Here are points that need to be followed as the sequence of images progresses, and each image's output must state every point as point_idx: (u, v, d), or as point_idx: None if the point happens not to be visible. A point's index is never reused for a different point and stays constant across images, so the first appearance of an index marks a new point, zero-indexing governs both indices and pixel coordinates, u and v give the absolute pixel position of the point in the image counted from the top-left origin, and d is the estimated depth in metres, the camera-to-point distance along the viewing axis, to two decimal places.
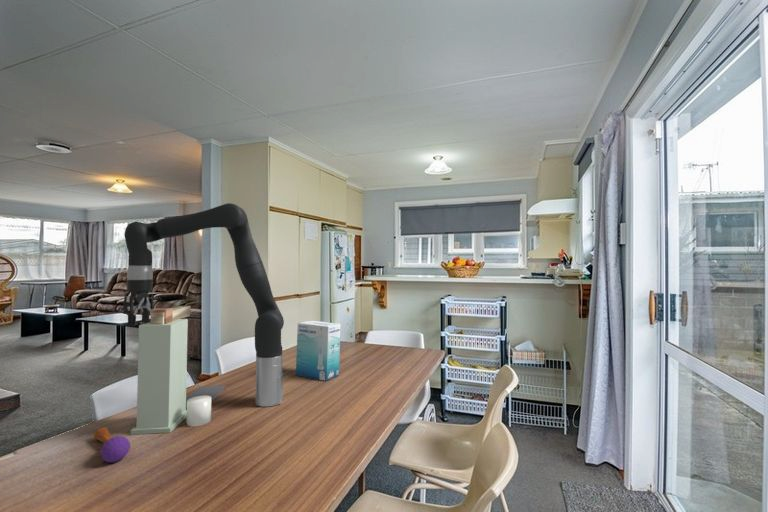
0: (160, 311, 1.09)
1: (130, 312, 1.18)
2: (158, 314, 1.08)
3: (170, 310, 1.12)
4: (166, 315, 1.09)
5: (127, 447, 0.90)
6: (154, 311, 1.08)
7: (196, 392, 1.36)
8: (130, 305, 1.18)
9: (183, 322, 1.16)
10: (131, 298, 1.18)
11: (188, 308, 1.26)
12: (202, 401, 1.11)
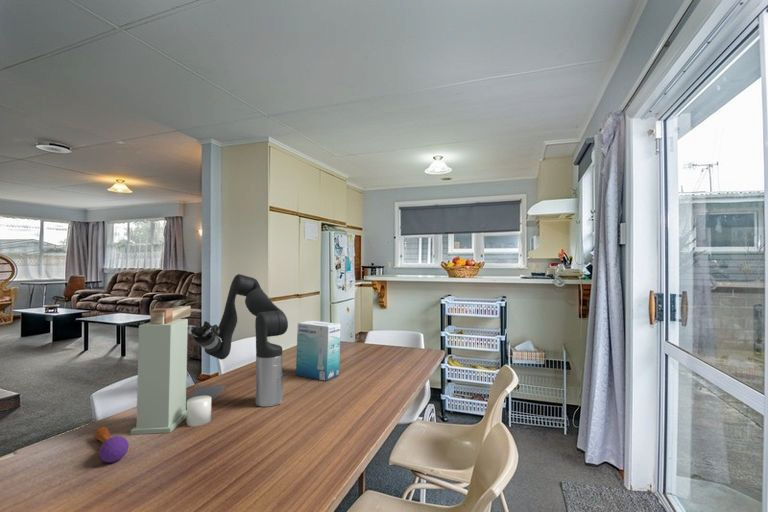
0: (160, 311, 1.09)
1: None
2: (158, 314, 1.08)
3: (170, 310, 1.12)
4: (166, 315, 1.09)
5: (125, 448, 0.90)
6: (154, 311, 1.08)
7: (196, 392, 1.36)
8: None
9: (183, 322, 1.16)
10: None
11: (188, 308, 1.26)
12: (202, 401, 1.11)
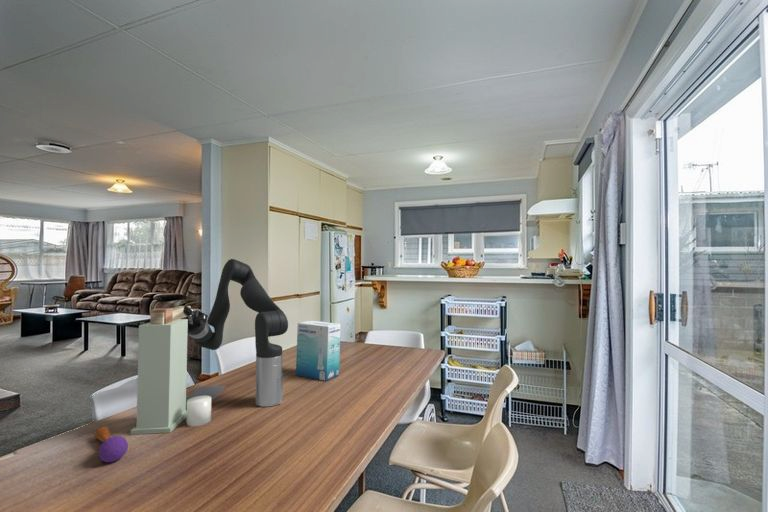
0: (160, 311, 1.09)
1: None
2: (158, 314, 1.08)
3: (170, 310, 1.12)
4: (166, 315, 1.09)
5: (124, 447, 0.90)
6: (154, 311, 1.08)
7: (196, 392, 1.36)
8: None
9: (183, 322, 1.16)
10: None
11: None
12: (202, 401, 1.11)
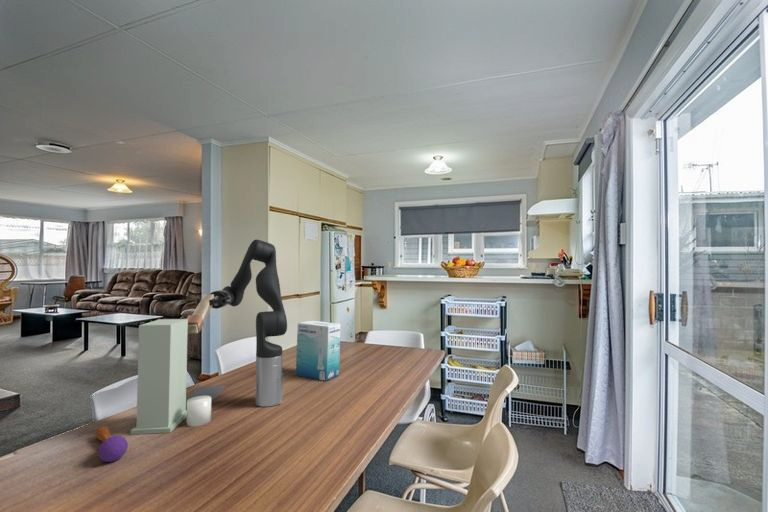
0: (193, 323, 1.26)
1: None
2: (192, 326, 1.25)
3: (200, 318, 1.29)
4: (198, 325, 1.27)
5: (124, 447, 0.91)
6: None
7: (196, 392, 1.36)
8: None
9: (183, 322, 1.16)
10: (197, 298, 1.46)
11: (212, 298, 1.42)
12: (202, 401, 1.11)
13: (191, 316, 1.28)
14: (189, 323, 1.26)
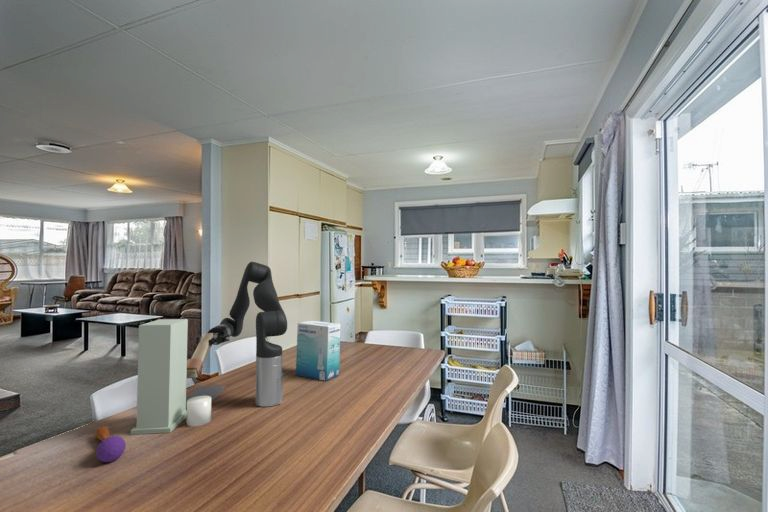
0: (192, 368, 1.25)
1: None
2: (191, 372, 1.25)
3: (199, 362, 1.28)
4: (198, 370, 1.27)
5: (121, 447, 0.90)
6: (187, 368, 1.25)
7: (196, 392, 1.36)
8: (196, 337, 1.44)
9: (183, 322, 1.16)
10: (196, 335, 1.46)
11: (211, 337, 1.41)
12: (202, 401, 1.11)
13: (190, 360, 1.28)
14: (188, 368, 1.25)
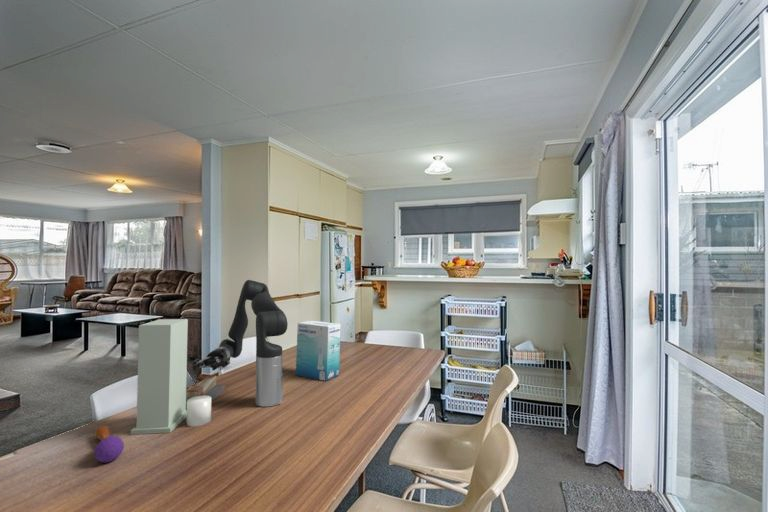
0: (194, 391, 1.27)
1: None
2: (192, 394, 1.26)
3: (201, 388, 1.30)
4: (199, 394, 1.28)
5: (119, 448, 0.90)
6: (188, 391, 1.27)
7: None
8: None
9: (183, 322, 1.16)
10: (196, 359, 1.46)
11: (214, 378, 1.44)
12: (202, 401, 1.11)
13: (193, 386, 1.30)
14: (190, 391, 1.27)
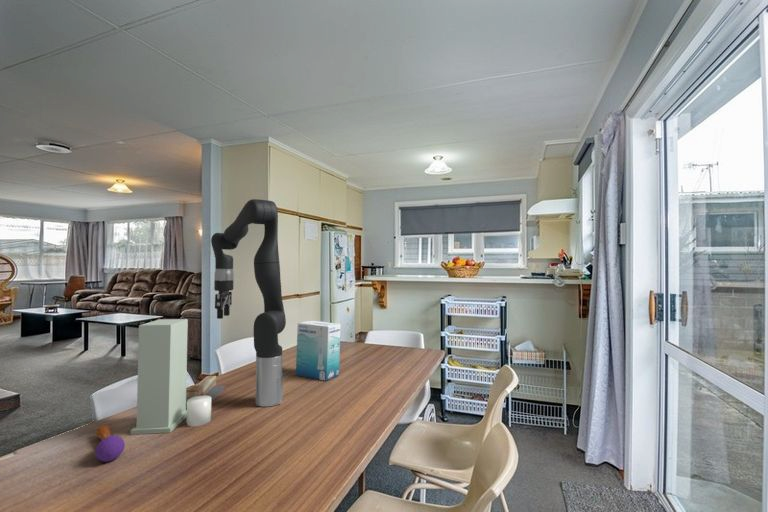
0: (194, 391, 1.27)
1: None
2: (192, 394, 1.26)
3: (201, 388, 1.30)
4: (199, 394, 1.28)
5: (120, 447, 0.91)
6: (188, 391, 1.27)
7: None
8: None
9: (183, 322, 1.16)
10: None
11: (214, 378, 1.44)
12: (202, 401, 1.11)
13: (193, 386, 1.30)
14: (190, 391, 1.27)
